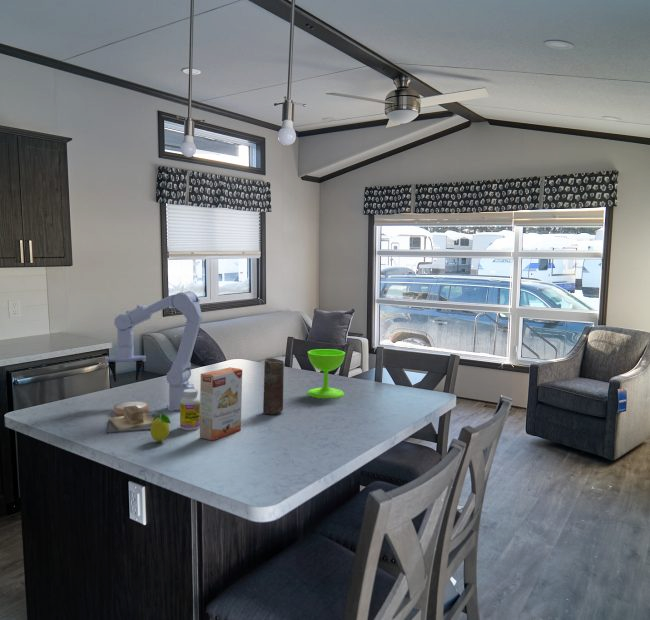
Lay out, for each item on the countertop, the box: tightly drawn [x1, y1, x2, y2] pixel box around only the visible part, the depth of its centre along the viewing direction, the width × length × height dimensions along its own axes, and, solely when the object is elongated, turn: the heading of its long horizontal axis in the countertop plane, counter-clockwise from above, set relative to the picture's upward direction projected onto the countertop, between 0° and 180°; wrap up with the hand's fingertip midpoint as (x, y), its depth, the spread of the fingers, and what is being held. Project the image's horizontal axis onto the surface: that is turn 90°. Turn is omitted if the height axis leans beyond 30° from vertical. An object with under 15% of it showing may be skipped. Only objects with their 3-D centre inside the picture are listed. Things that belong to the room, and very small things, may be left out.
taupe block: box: [108, 405, 156, 431], centre depth 187 cm, size 13×13×5 cm
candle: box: [262, 357, 285, 415], centre depth 203 cm, size 8×7×20 cm
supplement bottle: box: [179, 388, 200, 431], centre depth 184 cm, size 7×7×13 cm
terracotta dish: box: [113, 400, 150, 417], centre depth 201 cm, size 12×12×3 cm
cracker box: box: [199, 366, 243, 441], centre depth 178 cm, size 14×6×21 cm, turn 148°
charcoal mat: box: [107, 414, 159, 434], centre depth 187 cm, size 16×16×1 cm
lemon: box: [150, 410, 171, 443], centre depth 169 cm, size 7×6×10 cm
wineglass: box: [306, 348, 346, 399], centre depth 233 cm, size 16×16×18 cm
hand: (126, 380), depth 210 cm, fingers open, 7 cm apart
